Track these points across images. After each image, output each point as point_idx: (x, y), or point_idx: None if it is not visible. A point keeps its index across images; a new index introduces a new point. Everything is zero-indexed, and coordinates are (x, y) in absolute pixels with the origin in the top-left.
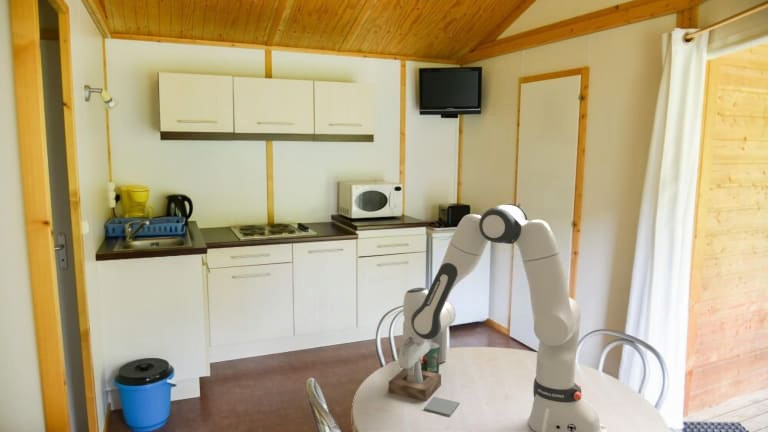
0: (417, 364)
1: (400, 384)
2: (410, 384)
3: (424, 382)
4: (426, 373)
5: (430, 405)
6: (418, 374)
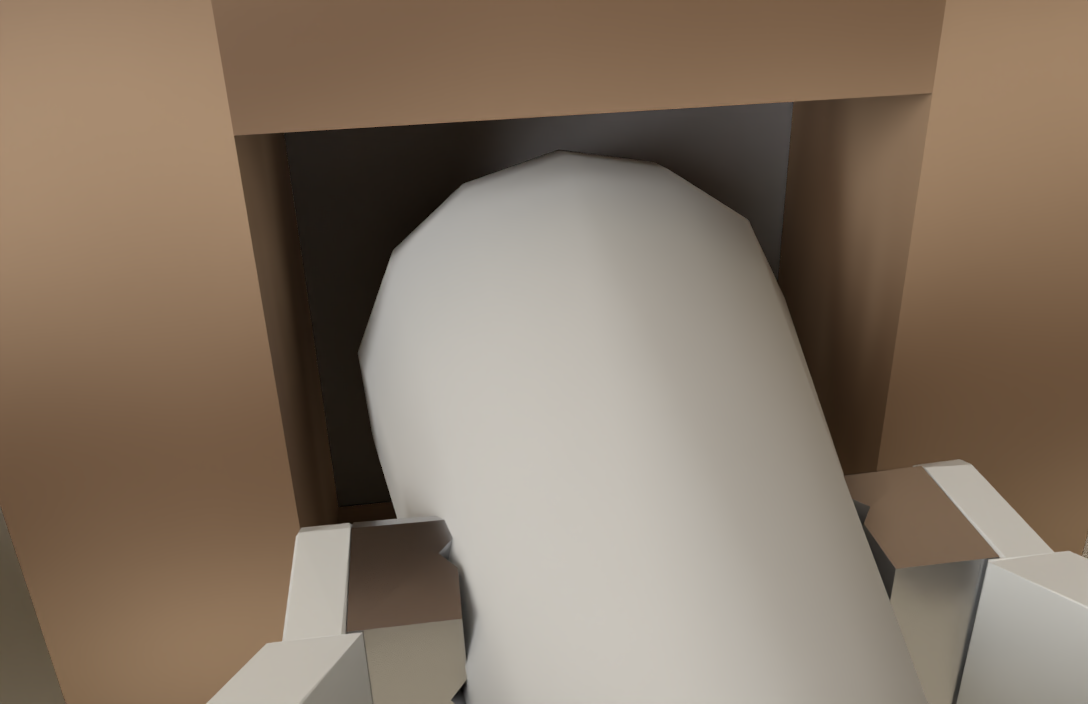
0: (866, 669)
1: (1079, 520)
2: (1045, 332)
3: (775, 50)
4: (112, 297)
5: None
6: (763, 365)
